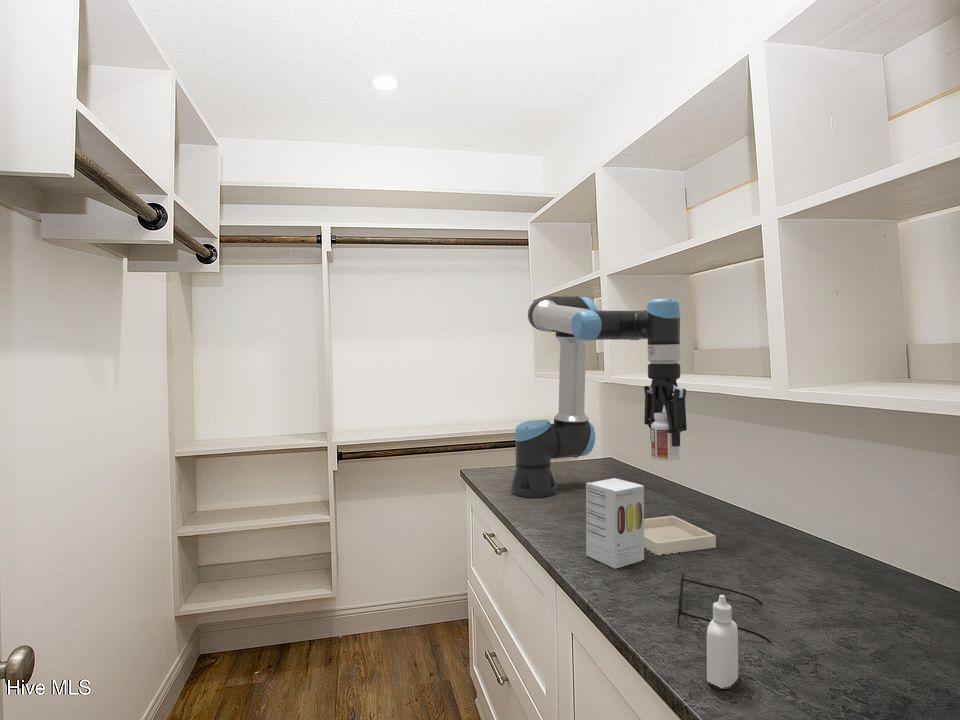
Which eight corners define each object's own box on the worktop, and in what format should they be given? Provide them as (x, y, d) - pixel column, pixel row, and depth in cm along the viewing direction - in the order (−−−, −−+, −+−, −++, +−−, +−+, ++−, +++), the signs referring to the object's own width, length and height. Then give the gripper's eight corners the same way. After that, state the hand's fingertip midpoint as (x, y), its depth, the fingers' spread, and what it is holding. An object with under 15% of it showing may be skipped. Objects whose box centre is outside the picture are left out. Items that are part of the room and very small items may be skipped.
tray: (619, 532, 136) (619, 521, 136) (673, 526, 140) (673, 515, 140) (656, 555, 120) (656, 543, 120) (715, 547, 125) (715, 535, 125)
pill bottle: (683, 458, 129) (683, 413, 129) (667, 462, 126) (666, 415, 125) (662, 455, 134) (661, 411, 134) (646, 458, 131) (645, 413, 131)
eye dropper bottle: (695, 674, 77) (695, 591, 76) (729, 667, 78) (728, 586, 78) (716, 693, 72) (715, 605, 72) (751, 686, 74) (750, 600, 73)
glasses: (679, 594, 103) (682, 569, 102) (765, 616, 97) (769, 590, 97) (676, 630, 89) (679, 602, 89) (776, 659, 84) (780, 628, 83)
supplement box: (615, 570, 113) (614, 491, 113) (584, 556, 121) (584, 482, 121) (645, 560, 118) (645, 484, 118) (614, 547, 126) (614, 476, 126)
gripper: (628, 362, 138) (629, 451, 138) (675, 363, 119) (676, 466, 120) (654, 361, 140) (655, 449, 140) (703, 362, 121) (704, 463, 122)
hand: (664, 456), depth 130 cm, fingers closed on pill bottle, 6 cm apart
